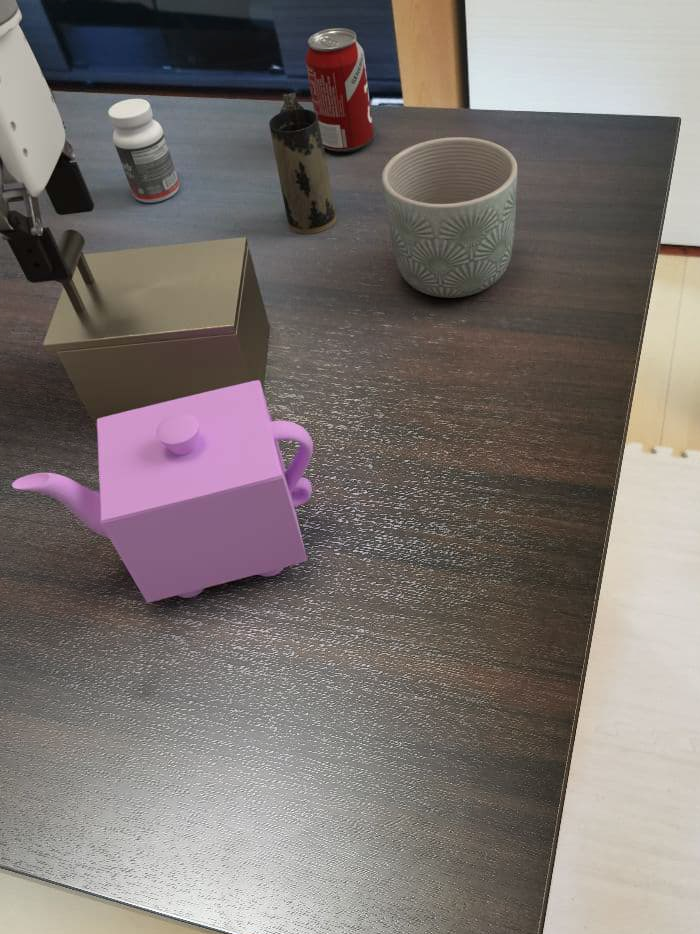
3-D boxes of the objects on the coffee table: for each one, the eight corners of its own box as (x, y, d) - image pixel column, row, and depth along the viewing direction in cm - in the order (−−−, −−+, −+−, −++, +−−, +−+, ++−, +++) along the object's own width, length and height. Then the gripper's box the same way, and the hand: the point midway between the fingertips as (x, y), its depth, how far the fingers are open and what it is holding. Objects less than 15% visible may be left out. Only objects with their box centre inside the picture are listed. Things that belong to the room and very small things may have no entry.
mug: (339, 230, 92) (321, 119, 83) (289, 238, 92) (265, 128, 82) (332, 193, 97) (314, 85, 88) (285, 201, 97) (262, 93, 87)
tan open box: (97, 431, 75) (56, 352, 68) (121, 341, 83) (87, 262, 76) (261, 415, 74) (236, 334, 67) (269, 326, 82) (248, 245, 75)
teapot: (318, 471, 69) (288, 350, 60) (344, 565, 63) (315, 446, 53) (76, 532, 67) (4, 418, 58) (78, 635, 61) (-3, 526, 51)
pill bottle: (129, 188, 102) (99, 104, 94) (174, 175, 103) (148, 91, 95) (139, 209, 99) (108, 124, 91) (185, 195, 100) (159, 110, 92)
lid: (46, 352, 68) (16, 296, 64) (78, 262, 76) (53, 207, 72) (236, 333, 67) (218, 275, 63) (248, 244, 75) (233, 187, 71)
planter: (407, 322, 81) (396, 217, 72) (383, 252, 88) (370, 151, 80) (531, 296, 81) (535, 190, 73) (496, 229, 89) (496, 126, 81)
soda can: (342, 162, 101) (326, 56, 92) (309, 145, 105) (290, 41, 95) (385, 140, 104) (373, 35, 94) (351, 124, 107) (336, 21, 98)
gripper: (-61, -33, 60) (43, 194, 73) (-153, 68, 49) (-11, 314, 62) (41, -47, 59) (127, 184, 73) (-29, 52, 48) (88, 302, 62)
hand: (63, 243), depth 67 cm, fingers open, 9 cm apart
